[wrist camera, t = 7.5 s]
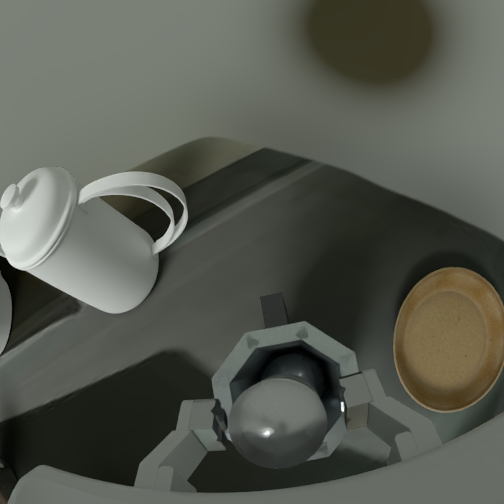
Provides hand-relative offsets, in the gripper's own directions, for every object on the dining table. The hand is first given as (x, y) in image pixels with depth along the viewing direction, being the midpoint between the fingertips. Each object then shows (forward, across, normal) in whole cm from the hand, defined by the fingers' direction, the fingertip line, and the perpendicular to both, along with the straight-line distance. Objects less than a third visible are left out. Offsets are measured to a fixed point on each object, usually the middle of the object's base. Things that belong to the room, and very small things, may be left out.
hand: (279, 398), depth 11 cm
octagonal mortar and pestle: (+12, 0, +12) cm, 17 cm away
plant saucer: (+12, -17, +13) cm, 24 cm away
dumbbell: (+10, 0, +11) cm, 14 cm away
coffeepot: (+22, +18, +2) cm, 29 cm away
